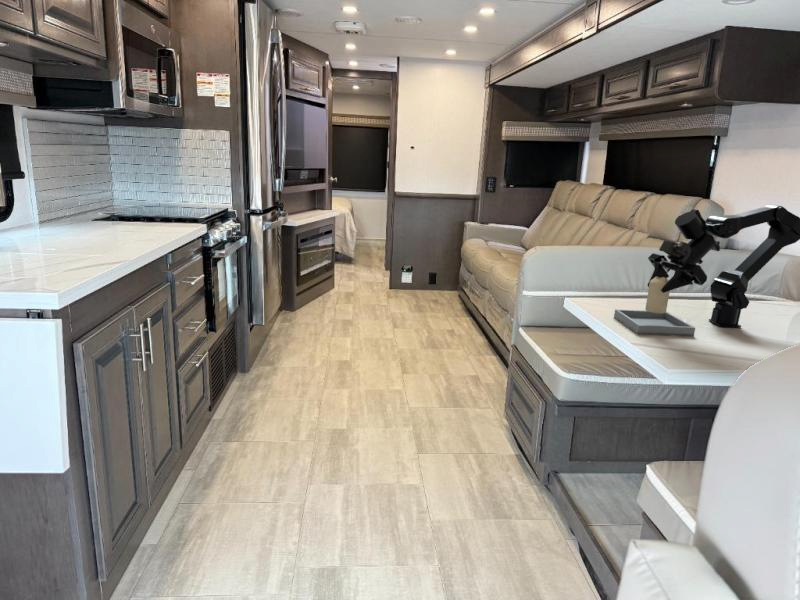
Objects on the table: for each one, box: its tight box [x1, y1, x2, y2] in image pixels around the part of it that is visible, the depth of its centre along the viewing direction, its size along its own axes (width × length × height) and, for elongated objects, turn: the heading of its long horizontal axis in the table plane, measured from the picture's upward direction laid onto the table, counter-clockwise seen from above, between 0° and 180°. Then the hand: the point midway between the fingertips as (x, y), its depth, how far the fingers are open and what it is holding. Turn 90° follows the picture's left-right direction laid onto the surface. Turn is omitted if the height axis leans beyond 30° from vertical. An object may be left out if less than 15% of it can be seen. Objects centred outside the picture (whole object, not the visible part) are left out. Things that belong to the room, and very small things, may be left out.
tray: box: [613, 309, 696, 337], centre depth 160 cm, size 16×16×2 cm
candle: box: [645, 276, 671, 314], centre depth 158 cm, size 6×6×10 cm
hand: (655, 289), depth 158 cm, fingers closed on candle, 5 cm apart
